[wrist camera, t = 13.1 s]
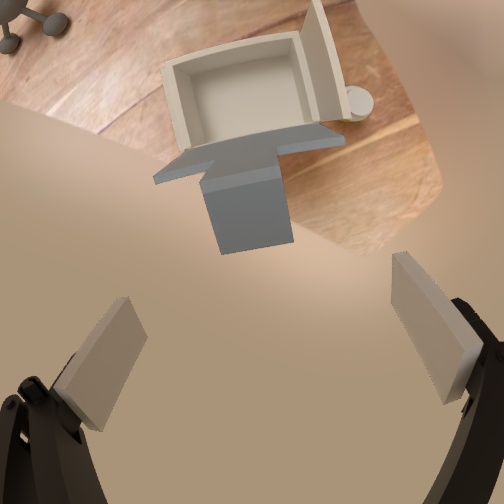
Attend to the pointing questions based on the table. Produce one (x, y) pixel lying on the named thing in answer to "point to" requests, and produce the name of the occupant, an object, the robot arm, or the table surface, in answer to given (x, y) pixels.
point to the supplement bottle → (358, 103)
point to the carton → (256, 85)
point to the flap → (248, 183)
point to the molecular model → (14, 3)
